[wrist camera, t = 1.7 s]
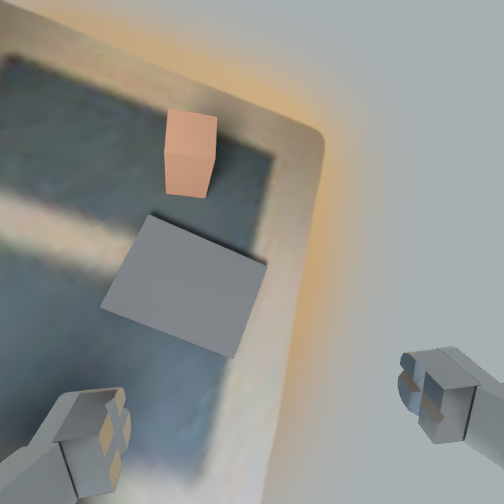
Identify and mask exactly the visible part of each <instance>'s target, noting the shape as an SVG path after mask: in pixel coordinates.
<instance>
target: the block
mask: <svg viewBox="0 0 504 504" xmlns="http://www.w3.org/2000/svg"><path fill="white" fill-rule="evenodd" d="M216 133H217V117H216V116H210V115H205V114H199V113H193V112H188V111H182V110H176V109H171V108H168V118H167V129H166V139H165V150H164V156H165V178H166V194H173V195H182V196H191V197H200V198H205V197H206V193H207V189H208V186H209V182H210V178H211V174H212V170H213V166H214V162H215V154H216Z"/></svg>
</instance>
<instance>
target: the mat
mask: <svg viewBox="0 0 504 504" xmlns="http://www.w3.org/2000/svg"><path fill="white" fill-rule="evenodd" d="M266 268H267V266H266V265H263V264H261V263H259V262H256V261H254V260H252V259H250V258H247V257H245V256H243V255H240V254H238V253H236V252H234V251H231V250H229V249H227V248H224V247H222V246H220V245H218V244H215V243H213V242H211V241H208V240H206V239H204V238H202V237H199V236H197V235H195V234H192V233H190V232H188V231H186V230H183V229H181V228H179V227H176V226H174V225H172V224H170V223H167V222H165V221H163V220H160V219H158V218H156V217H154V216H151V215H148V217H147V218H146V220H145V222H144V224H143V226H142V228H141V230H140V232H139V234H138V235H137V237H136V239H135V241H134V243H133V245H132V247H131V249H130V251H129V253H128V254H127V256H126V258H125V260H124V262H123V264H122V266H121V268H120V270H119V271H118V273H117V275H116V277H115V279H114V281H113V283H112V285H111V287H110V289H109V290H108V292H107V294H106V296H105V298H104V300H103V302H102V304H101V306H100V308H102V309H105V310H107V311H110V312H112V313H115V314H118V315H120V316H123V317H125V318H128V319H131V320H133V321H136V322H138V323H141V324H144V325H146V326H149V327H151V328H154V329H157V330H159V331H162V332H164V333H167V334H170V335H172V336H175V337H177V338H180V339H183V340H185V341H188V342H190V343H193V344H196V345H198V346H201V347H203V348H206V349H209V350H211V351H214V352H216V353H219V354H222V355H224V356H227V357H229V358H232V359H233V358H234V356H235V353H236V350H237V347H238V345H239V342H240V339H241V337H242V334H243V331H244V328H245V326H246V323H247V320H248V317H249V315H250V312H251V309H252V306H253V304H254V301H255V298H256V295H257V293H258V290H259V287H260V285H261V282H262V279H263V276H264V274H265V271H266Z"/></svg>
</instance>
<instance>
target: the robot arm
mask: <svg viewBox="0 0 504 504" xmlns="http://www.w3.org/2000/svg"><path fill="white" fill-rule="evenodd" d="M400 365H401V366H402V368H403V369H404V371H403V372H402V373H401V374H400V376H399V377H398V389H399V394H400V397H401V399H402V401H403V403H404V405H405V406H406V407H407V408H408V410H409V411H411V412H412V413H414V414H416V415H418V416H419V421H418V424H419V425H420V426H421V428H422V429H423V430H424V432H425V433H426V434H427V435H428V437H429V438H430V439H431V441H432V442H433V443H434V444H441V443H450V442H458V441H465V443H466V444H467V445H469V446H470V447H472V448H473V449H475V450H476V451H478V452H479V453H481V454H482V455H484V456H485V457H486V458H488V459H489V460H491V461H492V462H494V463H495V464H497V465H498V466H500V467H501V468H503V469H504V383H499V382H498V381H497V380H496V379H494V378H493V377H492V376H491V375H490V374H488V373H487V372H486V371H485V370H483V369H482V368H481V367H480V366H478V365H477V364H476V363H475V362H474V361H472V360H471V359H470V358H468V357H467V356H466V355H465V354H464V353H462V352H461V351H459V349H457V348H455V347H452V346H450V347H443V348H436V349H431V350H424V351H416V352H408V353H403V355H402V357H401V361H400ZM125 400H126V395H125V392H124V389H123V388H122V387H113V388H103V389H93V390H84V391H75V392H65V393H63V394H62V395H60V396H59V398H58V399H57V401H56V402H55V404H54V406H53V407H52V409H51V410H50V412H49V413H48V415H47V417H46V418H45V420H44V421H43V423H42V424H41V426H40V427H39V429H38V431H37V432H36V434H35V435H34V437H33V438H32V440H31V442H30V443H29V445H28V446H26V447H21V448H19V449H18V450H17V451H15V452H14V453H13V454H11V455H10V456H9V457H7V458H6V459H5V460H3V461H2V462H1V463H0V504H76V503H77V501H78V500H77V499H79V498H85V497H90V496H96V495H101V494H107V493H112V492H114V491H115V488H116V484H117V481H118V478H119V475H120V471H121V468H122V463H121V458H120V456H121V455H122V454H123V453H124V452H125V451H126V450H127V448H128V444H129V440H130V433H131V417H130V413H129V410H127V409H126V408H125V407H124V403H125Z"/></svg>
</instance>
